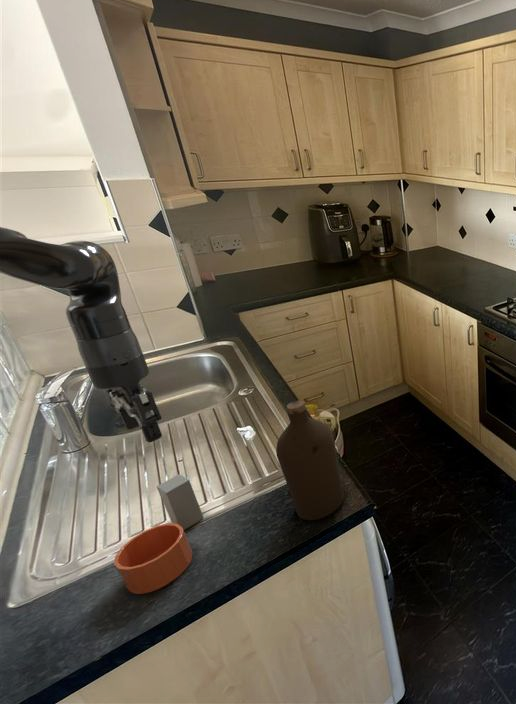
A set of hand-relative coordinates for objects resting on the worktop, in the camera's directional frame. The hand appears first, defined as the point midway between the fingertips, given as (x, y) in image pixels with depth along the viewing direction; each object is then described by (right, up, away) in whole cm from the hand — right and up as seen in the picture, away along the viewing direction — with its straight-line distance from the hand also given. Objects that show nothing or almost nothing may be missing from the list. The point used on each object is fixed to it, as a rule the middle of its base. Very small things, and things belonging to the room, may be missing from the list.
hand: (144, 433), depth 77 cm
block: (+2, -20, +7) cm, 22 cm away
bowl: (+6, -24, -3) cm, 25 cm away
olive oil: (+29, -18, +11) cm, 36 cm away
